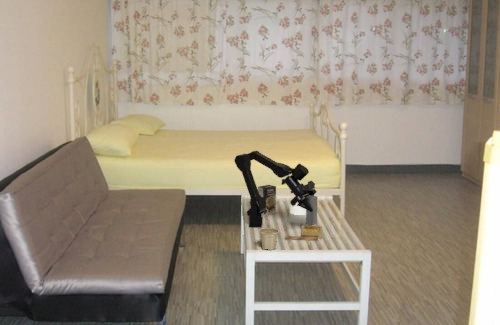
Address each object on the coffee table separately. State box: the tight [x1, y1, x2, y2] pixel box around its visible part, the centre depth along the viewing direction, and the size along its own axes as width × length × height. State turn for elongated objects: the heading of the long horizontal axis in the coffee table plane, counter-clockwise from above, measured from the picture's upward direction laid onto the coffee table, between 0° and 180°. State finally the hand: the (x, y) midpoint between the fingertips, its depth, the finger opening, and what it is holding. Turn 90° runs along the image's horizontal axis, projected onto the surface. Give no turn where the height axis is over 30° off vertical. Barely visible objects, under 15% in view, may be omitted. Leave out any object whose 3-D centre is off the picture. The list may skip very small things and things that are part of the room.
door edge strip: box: [284, 235, 319, 242], centre depth 295 cm, size 16×2×1 cm, turn 84°
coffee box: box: [257, 184, 277, 217], centre depth 340 cm, size 9×6×16 cm
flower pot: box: [258, 227, 280, 251], centre depth 282 cm, size 9×9×9 cm
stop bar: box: [305, 195, 318, 226], centre depth 298 cm, size 4×4×14 cm
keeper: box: [301, 225, 323, 240], centre depth 301 cm, size 10×10×4 cm
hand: (314, 210), depth 298 cm, fingers closed on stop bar, 4 cm apart
